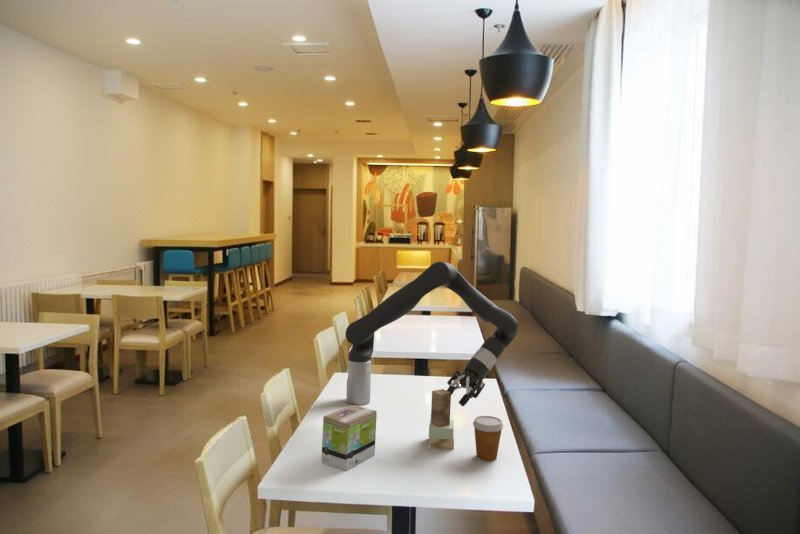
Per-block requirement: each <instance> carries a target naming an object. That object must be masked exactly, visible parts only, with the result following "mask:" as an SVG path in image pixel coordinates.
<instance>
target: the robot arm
mask: <svg viewBox="0 0 800 534" xmlns="http://www.w3.org/2000/svg"><path fill="white" fill-rule="evenodd" d="M440 287H445V288H447V289H448V290H450V291H452V292H454V293H455V294H456V295H457V296H459V297H460V298H461V300H462V301H463V302H464V303H465V304H466V306H467V307H468V308H469V309H470V310H471V311H472V312H473V313H474V314H475V315H476V316H478V317H479V318H480V319H481V320H483V321H484V322H485V323H491V324H492V325H494V326H495V327H496V329H495V331H494V332H493V333H492V334H491V336H489V337H488V338H486V340H485V341H484V342H483V343H482V344H481V346H480V347H479V348H478V349H477V350H476V351H475V353H474V354H473V355H472V356H471V358H470V359H469V361H468V362H467V363H466V364H465V366H464V371H463V372H460V371H459V370H456V371H455V372H454V373H453V375H452V376H451V377H450V378H449V380H448V381H447V382H446V383H447V386H448V388H447V390H446V391H448V392H450V393H451V396H452V395H453V394H454V392H455V391H457V390H458V389H466V390H465V393H464V394H463V396H462V398H460V400H458V404H459V405H460V406H461V407H465V406H466V405H467V403H468V402H469V401H470V399H472V398H474V399H477V398H478V396H479V395H480V394H481V392H482V390H484V388H485V386H486V383H485V382H484V379H485V378H486V377H487V375H488V374H489V373H490V371H491V370H492V368H493V367H494V365H495V363H496V362H497V360H498V359H499V357H500V356H501V354H502V353H503V352H504V350H505V349H506V348H507V347H508V346H509V345H510V344H511V343H512V342H513V340H514V339H515V337H516V335H517V333H518V330H519V322H518V320H517V319H516V317H514V316H513V314H511V313H510V312H508V311H506V310H505V309H503V308H500V307H498V306H497V305H496V304H495V303H494V302H493V301H492V300H490V299H488V297H486V296H485V295H484V294H483V293H482V292H480V291H479V290H477V289H476V288H475V287H474V286H473V285H472V284H471V283H469V281H468V280H467V279H465V277H464V276H463V275H462V274H461V273H460V272H459V270H458V269H457V268H456V267H455V266H454V264H453V263H450V262H446V261H441V260H439V261H436V262H433V263H431V265H429V266H428V268H426V269H425V270H424V271H423V272H422V273H421V274H420V275H418V276H417V277H416V278H415V279H413V280H412V281H410V282H408V283H407V284H405V285H404V286H402V287H401V288H400V289H398V290H397V291H395V292H393V293H392V294H391V295H390V296H388V297H387V298H386V299H384V300H383V301H382V302H381V303H379V304H378V305H377V306H376V307H375V308H374V309H373V310H371V311H369V313H367V314H365V315H364V316H363V317H360V318H359V319H357V320H355V321H352V322H351V323H349V324H348V326H347V328H346V329H345V339H346V341H347V342H348V343H350V344H352V345H351V348H350V350H349V352H348V357H347V359H348V360H347V362H348V363H347V378H346V379H347V380H346V403H347V404H350V405H356V406H359V405H366V404H369V403H370V402H371V385H372V384H371V383H372V381H371V378H372V355H373V352H374V345H375V344H374V343H375V333H376V332H377V331H378V330H380V329H381V328H383V327H385V326H388V325H389V324H391V323H393V322H396V321H397V320H399V319H401V318H402V317H404V316H405V315H407V314H408V313H410V312H411V311H412V310H414V309H415V307H416V306H417V305H418V304H419V303H420V301H421V300H422V299H423V298H424V297H425V296H426V295H427V294H428V293H431V292H432V291H433V290H436V289H437V288H440Z"/></svg>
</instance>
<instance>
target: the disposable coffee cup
mask: <svg viewBox="0 0 800 534" xmlns="http://www.w3.org/2000/svg"><path fill="white" fill-rule="evenodd" d="M472 425H473V428H474V438H475V453H476V458H477V459H478V460H481V461H485V462H493V461H496V460H497V457H498V452H499V447H500V440H501V436H502V431H503V428H504V424H503V421H502V419H501V418H499V417H497V416H492V415H491V416H490V415H480V416H476V417H475V418H474V421H473V422H472ZM495 459H496V460H495ZM492 460H493V461H492Z"/></svg>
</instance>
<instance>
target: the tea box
mask: <svg viewBox="0 0 800 534" xmlns="http://www.w3.org/2000/svg"><path fill="white" fill-rule="evenodd" d="M377 415H378V414H377V410H375V409H371V408H368V407H367V408H366V407H363V406H359V405H355V404H350V405H348V406H346V407H344V408H341V409H339V410H337V411H334V412H331V413H329V414H327V415H324V416H323V419H322V438H321V439H322V441H321V444H322V445H321V460H320V461H321V463H322V464H324V465H328V466H331V467H333V468H336V469H339V470H342V471H345V472H346V471H347V470H349V469H351V468H353V467H354V466H357V465H358V464H361V462H364V461H365V460H368V459H369V458H371V457H373V456H374V455H375V452H376V434H377V433H376V432H377V431H376V430H377ZM367 458H368V459H367Z"/></svg>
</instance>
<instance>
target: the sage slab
mask: <svg viewBox="0 0 800 534" xmlns="http://www.w3.org/2000/svg"><path fill="white" fill-rule="evenodd" d="M454 425H455V424H454V420H452V419H450V425H448V426H443V427H437V426H435V425H434V424H432V423H431V418H430V419H429V426H428V439H429V438H438V439H453V433H454V428H455V426H454Z"/></svg>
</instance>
